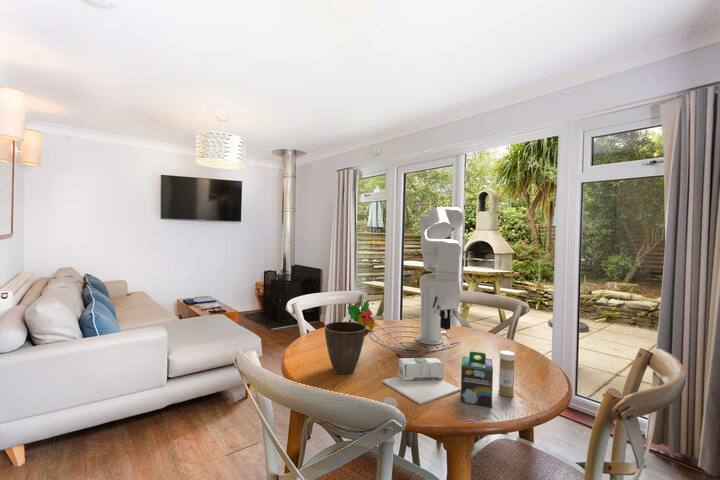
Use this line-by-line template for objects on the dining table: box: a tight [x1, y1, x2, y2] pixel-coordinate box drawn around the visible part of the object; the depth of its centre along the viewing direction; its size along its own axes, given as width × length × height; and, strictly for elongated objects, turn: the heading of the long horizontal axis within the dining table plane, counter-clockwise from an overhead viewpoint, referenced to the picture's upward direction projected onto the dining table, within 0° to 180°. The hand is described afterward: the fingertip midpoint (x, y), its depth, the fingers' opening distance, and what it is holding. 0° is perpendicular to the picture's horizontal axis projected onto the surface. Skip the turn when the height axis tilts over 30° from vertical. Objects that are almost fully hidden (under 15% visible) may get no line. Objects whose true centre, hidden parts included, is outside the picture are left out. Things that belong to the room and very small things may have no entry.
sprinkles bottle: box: [497, 350, 516, 398], centre depth 111 cm, size 5×5×13 cm
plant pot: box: [324, 321, 366, 375], centre depth 126 cm, size 15×15×16 cm
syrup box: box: [397, 357, 444, 380], centre depth 121 cm, size 6×6×14 cm
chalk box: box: [460, 351, 494, 408], centre depth 107 cm, size 9×9×15 cm
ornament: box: [347, 300, 378, 332], centre depth 176 cm, size 21×8×15 cm, turn 149°
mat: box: [381, 375, 461, 406], centre depth 115 cm, size 18×18×1 cm
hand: (445, 328), depth 121 cm, fingers closed
